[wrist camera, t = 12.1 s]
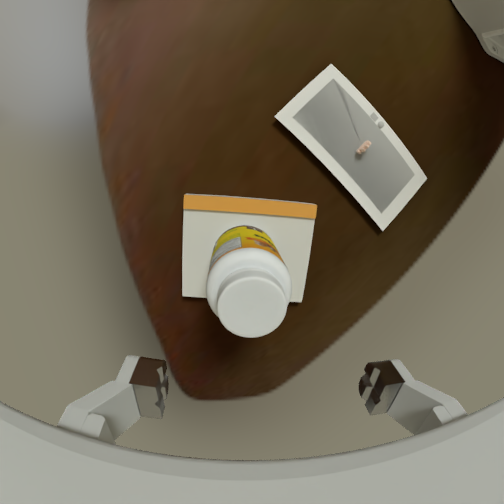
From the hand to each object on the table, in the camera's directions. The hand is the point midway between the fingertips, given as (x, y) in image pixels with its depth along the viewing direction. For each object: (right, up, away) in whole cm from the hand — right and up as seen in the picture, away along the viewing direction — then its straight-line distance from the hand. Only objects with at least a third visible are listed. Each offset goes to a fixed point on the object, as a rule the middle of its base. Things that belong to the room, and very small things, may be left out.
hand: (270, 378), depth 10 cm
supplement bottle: (-1, +5, +15) cm, 16 cm away
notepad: (-1, +5, +16) cm, 17 cm away
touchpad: (+9, +15, +14) cm, 23 cm away
